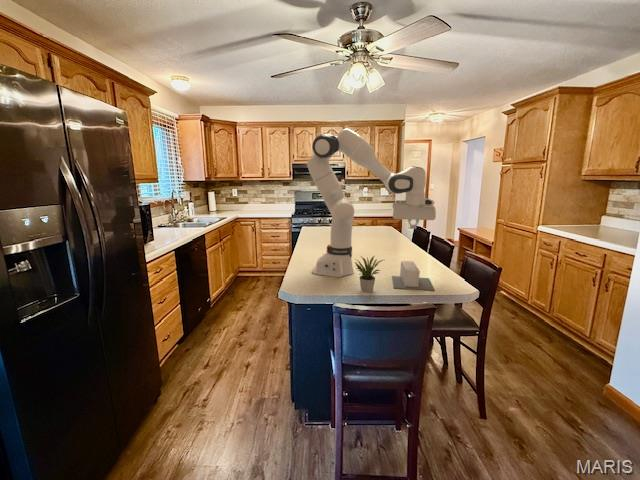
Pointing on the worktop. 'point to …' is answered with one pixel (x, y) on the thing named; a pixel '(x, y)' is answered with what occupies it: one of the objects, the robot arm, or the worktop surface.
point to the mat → (423, 285)
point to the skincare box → (409, 274)
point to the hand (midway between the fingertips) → (412, 228)
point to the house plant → (367, 275)
